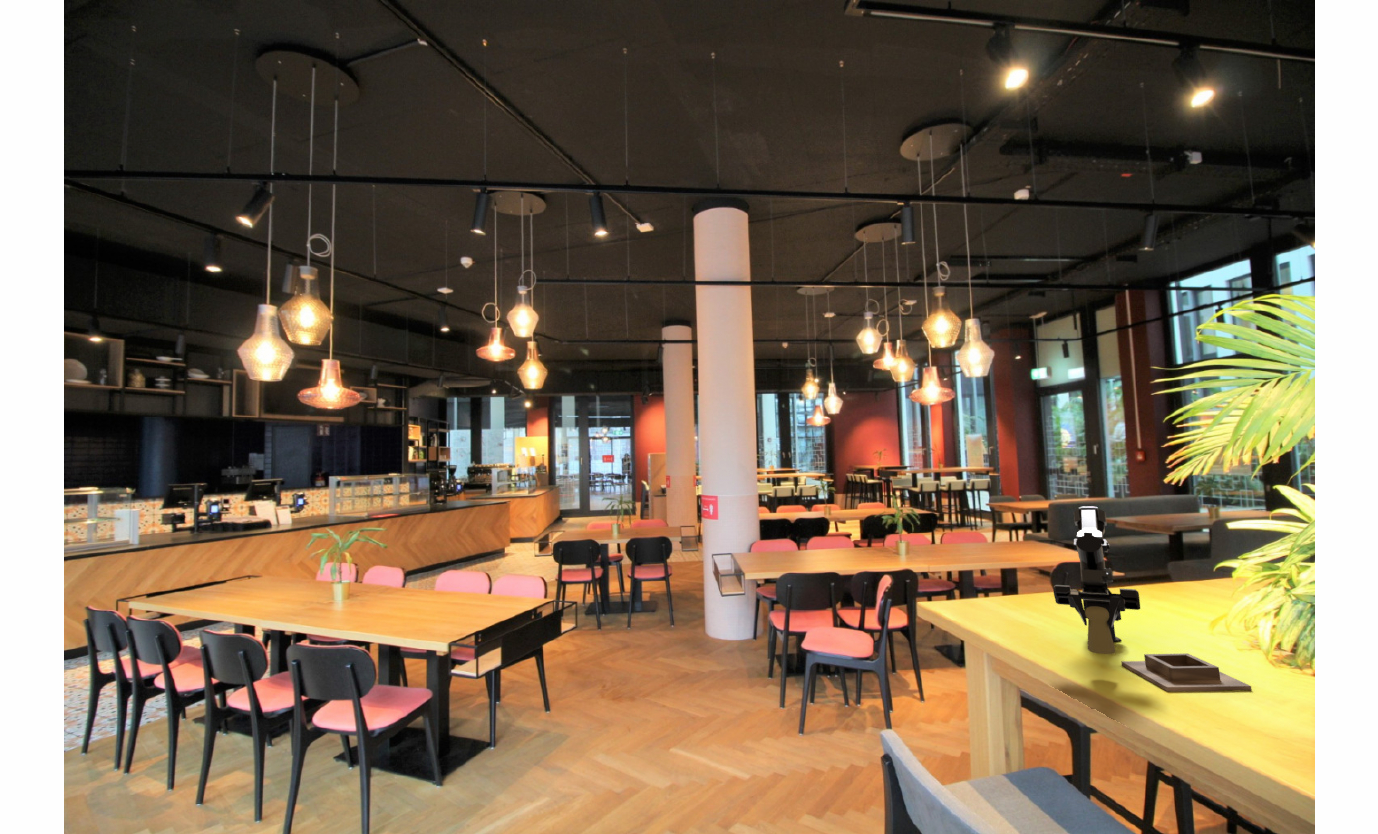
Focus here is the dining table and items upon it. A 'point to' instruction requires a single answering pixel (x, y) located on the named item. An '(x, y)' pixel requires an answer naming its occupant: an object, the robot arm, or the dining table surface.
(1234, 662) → the dining table surface
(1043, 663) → the dining table surface
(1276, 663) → the dining table surface
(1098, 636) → the cork
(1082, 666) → the dining table surface
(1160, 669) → the holder board
